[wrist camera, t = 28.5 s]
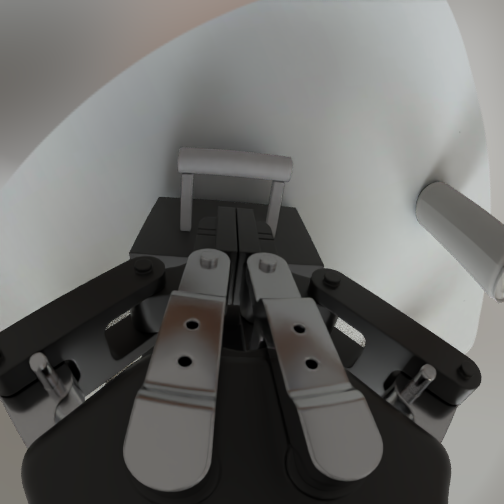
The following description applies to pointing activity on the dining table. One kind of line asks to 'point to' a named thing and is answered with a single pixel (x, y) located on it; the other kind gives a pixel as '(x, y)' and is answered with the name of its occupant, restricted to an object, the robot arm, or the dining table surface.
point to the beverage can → (465, 234)
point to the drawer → (194, 210)
